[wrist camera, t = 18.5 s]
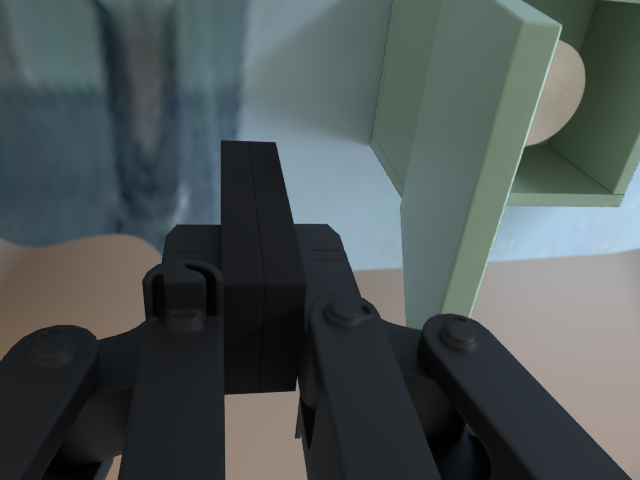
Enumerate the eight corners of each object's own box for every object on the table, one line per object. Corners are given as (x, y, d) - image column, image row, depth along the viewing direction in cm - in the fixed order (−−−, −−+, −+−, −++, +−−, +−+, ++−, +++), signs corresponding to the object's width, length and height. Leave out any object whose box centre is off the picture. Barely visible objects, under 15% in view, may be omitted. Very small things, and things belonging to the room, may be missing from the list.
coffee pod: (545, 20, 30) (602, 41, 26) (517, 114, 33) (563, 148, 29) (454, 12, 29) (496, 33, 25) (433, 110, 32) (468, 145, 28)
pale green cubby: (610, -29, 30) (716, -9, 24) (548, 152, 36) (619, 207, 30) (400, -51, 28) (454, -36, 22) (370, 146, 34) (405, 204, 27)
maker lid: (565, 24, 10) (521, 18, 10) (436, 423, 16) (410, 419, 16) (468, -33, 21) (448, -36, 21) (415, 210, 27) (399, 208, 27)
